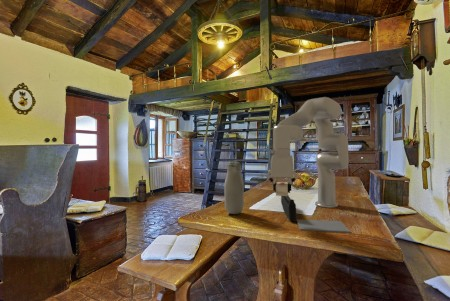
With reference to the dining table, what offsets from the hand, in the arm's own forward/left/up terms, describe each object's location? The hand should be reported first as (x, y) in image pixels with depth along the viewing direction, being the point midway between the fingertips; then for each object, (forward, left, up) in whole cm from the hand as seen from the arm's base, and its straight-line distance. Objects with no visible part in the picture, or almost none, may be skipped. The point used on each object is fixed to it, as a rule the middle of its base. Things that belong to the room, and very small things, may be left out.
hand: (282, 191), depth 107 cm
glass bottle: (-13, -24, -15) cm, 31 cm away
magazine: (-18, +4, -15) cm, 24 cm away
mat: (0, +17, -15) cm, 22 cm away
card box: (0, 0, -1) cm, 1 cm away
